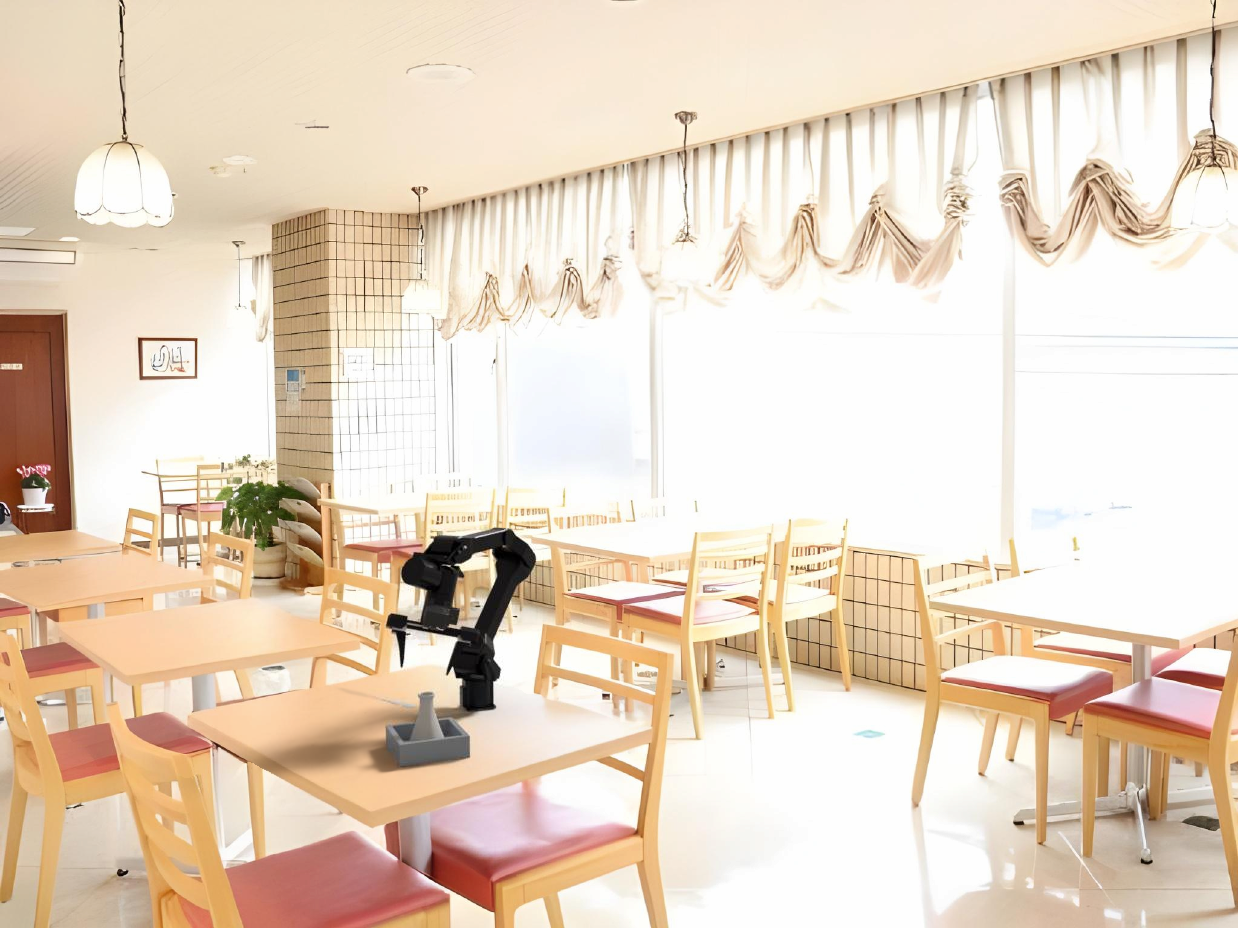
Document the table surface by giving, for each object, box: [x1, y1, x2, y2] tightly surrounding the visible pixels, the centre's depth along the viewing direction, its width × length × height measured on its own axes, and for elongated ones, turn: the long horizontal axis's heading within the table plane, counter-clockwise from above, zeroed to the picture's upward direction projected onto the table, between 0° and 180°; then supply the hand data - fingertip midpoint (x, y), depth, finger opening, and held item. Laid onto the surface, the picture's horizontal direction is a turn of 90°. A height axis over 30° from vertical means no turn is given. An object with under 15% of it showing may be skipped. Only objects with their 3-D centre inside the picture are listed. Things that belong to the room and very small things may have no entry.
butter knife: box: [375, 697, 416, 709], centre depth 236 cm, size 1×27×3 cm
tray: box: [385, 716, 471, 768], centre depth 198 cm, size 13×13×4 cm
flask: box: [409, 691, 444, 742], centre depth 198 cm, size 7×7×10 cm
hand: (424, 671), depth 211 cm, fingers open, 9 cm apart
